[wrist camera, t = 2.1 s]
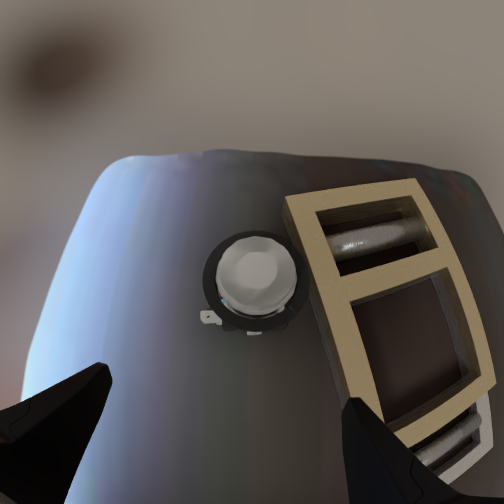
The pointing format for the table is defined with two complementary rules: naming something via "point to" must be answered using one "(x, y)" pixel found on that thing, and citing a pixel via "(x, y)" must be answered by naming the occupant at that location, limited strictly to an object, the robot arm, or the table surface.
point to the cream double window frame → (386, 282)
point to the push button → (254, 282)
